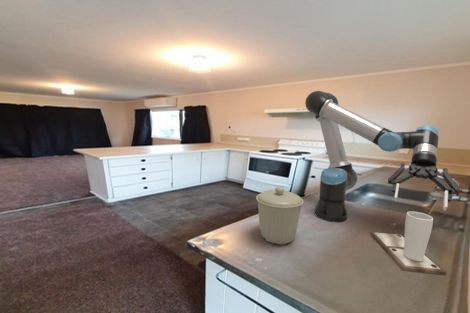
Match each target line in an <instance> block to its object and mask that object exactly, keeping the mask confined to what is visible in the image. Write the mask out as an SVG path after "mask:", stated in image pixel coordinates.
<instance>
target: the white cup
mask: <svg viewBox="0 0 470 313" xmlns="http://www.w3.org/2000/svg"><path fill="white" fill-rule="evenodd" d="M433 224H434V218H433V216H431V215H429V214H427V213H424V212H419V211H407V212H406V215H405V220H404V235H403V236H404V251H403V254H404V255H405V257H407V258H408V259H411V260H413V261H423V259H424V254H426V251H427V247H428V243H429V241H430V237H431V234H432V232H433V231H432V230H433Z"/></svg>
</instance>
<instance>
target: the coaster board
mask: <svg viewBox="0 0 470 313" xmlns="http://www.w3.org/2000/svg"><path fill="white" fill-rule="evenodd" d="M369 235H370V236H371V237H372V238H373V239H374V240H375V242H377V244H378V245H379V246H380V247H381V248H382V249H383V250H384V251H385V252H386V253H387V255H388V256H389V257H390V258H391V259H392V260H393V261H394V262H395V264H396V265H397V266H398V267H399V269H401V270H402V271H405V272H415V273H425V274H432V273H435V275H441V274H446V275H447V271H446V270H445V269H444V268H442V266H440V265H439V264H438V263H436V262H435V261H434V260H433V259H431V258H430V256H428V255H427V254H426V253H425V254H424V259H423V261H413V260H411V259H408V258H407V257H405V255H404V254H403V251H404V235H403V234H397V233H395V234H394V233H385V232H375V231H374V232H372V231H370V232H369Z"/></svg>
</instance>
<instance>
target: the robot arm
mask: <svg viewBox="0 0 470 313" xmlns="http://www.w3.org/2000/svg"><path fill="white" fill-rule="evenodd" d="M304 105H305V108H306V110H307V111H308V112H309V113H312V114H314V117H315V120H316V122H319V125H320V128H321V133H322V137H323V141H324V144H325V149H326V154H327V157H328V160H329V165H328V167H327V168H324V169H322V171H321V174H320V177H319V178H320V180H319V182H320V184H319V199H318V201H317V203H316V205H315V208H314V215H315V214H316V215H317V216H318V218H319V217H320V218H319V219H321V218H322V219H321V220H325V221H327V220H328V221H327V222H333V221H335V223H340V222H341V221H342V222H345V221H347V220H348V216H349V214H348V211H347V207H346V202H345V201H346V193H347V191H349V190H350V189H352V188H354V187H355V185H356V184H357V182H358V173H357V172H356V170H355V169H353V166H352V163H351V162H350V161H348V159H347V154H346V150H345V147H344V144H343V143H344V142H343V139H342V135H341V131H340V127H339V126H341V127H342V128H345V129H347V130H348V131H350V132H353V133H354V134H356V135H358V136H360V137H361V138H363V139H365V140H367V141H369V142H371V143H372V144H375V145H376V146H378V147H379V148H380V150H382V151H384V152H396V151H398V150H403V149H404V150H407V149H409V150H412V154H411V162H410V165H406V164H405V163H401V164H400V167H399V168H398V169H396V171H395V172H394V173H393V174H391V176H389V178H388V179H387V184H389V185H392V186H391V187H392V188H391V192H392V193H394V202H397V200H398V195H399V189H400V185H401V184H402V183H404V182H406V181H408V180H410V179H412V178H414V177H415V178H418V179H425V180H426V179H429V180H431V182H433V183H435V185H437V186H438V188H440V189H441V190H442V191H443V202H442V211H445V212H446V211H447V209H448V202H449V203H451V202H452V200H453V194H454V195H459V193H460V191H461V188H460V187H459V186H458V184H457V183H456V182H455V181H454V179H453V178H452V176H451V174H450V173H449V169H448V168H447V167H443V168H442V169H441V168H437V157H438V145H439V130H438V129H437V127H435V126H434V125H422V126H419V127H417V128H416V130H415V131H396V132H395V131H393V130H390V129H388V128H386V127H384V126H382V125H380V124H378V123H376V122H375V121H371V120H370V119H368V118H366V117H364V116H362V115H359V114H358V113H355V112H354V111H351V110H349V109H347V108H345V107H343V106H342V105H340V104H339V100H338V98H337V97H336V96H335V95H334V94H332V93H330V92H325V91H321V90H314V91H313V92H310V93H308V95H307V97H306V98H305V104H304ZM407 170H408V172H407V173H405V174H403V173H404V172H405V171H407ZM402 174H403V175H402ZM437 174H439V175H440V176H442V178H440V177H439V176H438V175H437ZM442 179H443V180H442ZM316 215H315V216H316ZM317 216H316V217H317Z"/></svg>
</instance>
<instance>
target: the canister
mask: <svg viewBox="0 0 470 313" xmlns="http://www.w3.org/2000/svg"><path fill="white" fill-rule="evenodd" d="M255 199H256V201H257V208H258V209H257V210H258V221H259V230H260V234H261V236H262V238H263V239H264V238H265V239H266V240H265V239H264V240H265V241H267V242H269V243H271V242H272V243H271V244H274V243H276V244H275V245H286V243H288V244H290V243H291V242H293V241H294V239H295V238H296V235H297V230H298V225H299V220H300V214H301V208H302V205H303V204H304V199H303V198H302V197H301V196H300V195H299V194H296V193H294V192H291V191H288V190H285V188H284V187H282V186H276V187H275V189H269V190H266V191H262V192H260V193H258V194H256V197H255ZM289 242H290V243H289Z"/></svg>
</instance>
